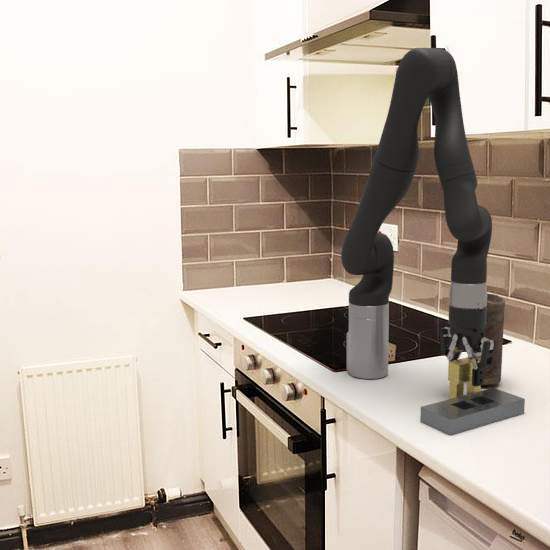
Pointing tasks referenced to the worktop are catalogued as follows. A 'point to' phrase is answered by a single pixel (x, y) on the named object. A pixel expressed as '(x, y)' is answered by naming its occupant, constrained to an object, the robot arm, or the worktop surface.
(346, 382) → the worktop surface
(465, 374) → the yellow block
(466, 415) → the grey slotted base
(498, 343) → the brown cylinder
